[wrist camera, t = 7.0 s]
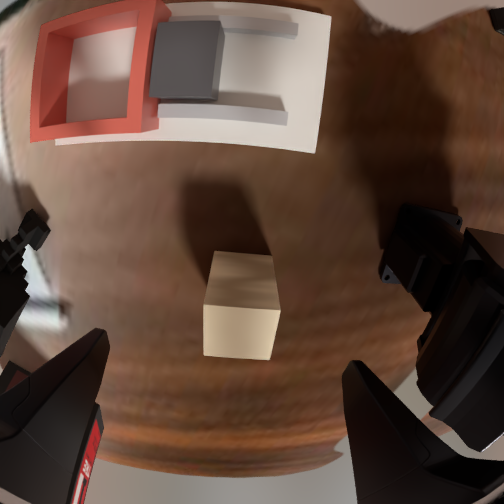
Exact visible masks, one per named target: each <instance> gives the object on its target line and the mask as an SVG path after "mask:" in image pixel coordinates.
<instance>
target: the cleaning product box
mask: <svg viewBox="0 0 504 504" xmlns="http://www.w3.org/2000/svg"><path fill="white" fill-rule="evenodd" d="M30 374H32V373H30V372H28V371H26V370H25V369H23V368H21V367H20V366H18V365H16V364H14V363H13V362H11V361H10V360H9V362H8V364H7V365H6V367H5V368H4V370H3V372H2V373H1V375H0V395H1V394H2V393H4V392H6V391H7V390H9V389H10V388H12V387H14V386H15V385H16V384H18V383H19V382H21V381H22V380H24V379H25V378H26V377H28V376H30ZM103 430H104V426H103V421H102V416H101V410H100V405H98V404H95V403H94V405H93V408H92V411H91V414H90V417H89V420H88V423H87V426H86V429H85V432H84V435H83V438H82V442H81V445H80V448H79V452H78V455H77V459H76V462H75V466H74V469H73V473H72V478H71V482H70V486H69V490H68V494H67V499H66V503H65V504H84V500H85V496H86V492H87V488H88V484H89V479H90V475H91V472H92V468H93V464H94V460H95V457H96V453H97V450H98V446H99V443H100V439H101V436H102V433H103Z"/></svg>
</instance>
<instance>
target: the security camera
mask: <svg viewBox="0 0 504 504" xmlns="http://www.w3.org/2000/svg"><path fill="white" fill-rule="evenodd" d="M18 231H19V232H18V234H17V235H15V236H14V237H13V238H12V239H11V241H10V242H9V241H8V240H7V239H6V240H5V241H4V242H2V241H1V239H0V357H1V356H2V354H3V351H4V349H5V347H6V344H7V342H8V340H9V338H10V335H11V333H12V331H13V329H14V327H15V325H16V323H17V321H18V319H19V317H20V315H21V313H22V311H23V309H24V307H25V305H26V303H27V301H28V299H29V297H30V296H29V295H28V293H27V292H26V291H25V290H26V288H27V286H28V282H27V281H26V280H25V279H24V278H25V276H26V273H27V271H26V269H25V268H24V267H23V266H22V263H23V261H24V259H23V258H22V256H23V254H24V252H25V250H26V249H25V246H27V245H28V244H29V245H30V246H31V247H32V248H33V249H34V250H36V251H37V250H38V249H39V248H41V246H42V245H43V243H44V241H45V240H46V238H47V236H48V235H49V233H50V231H51V230H50V229H49V228H48V227H47V225H46V224H45V223H44V222H43V221H42V220H41V218H40V217H39V216H38V215H37V214H36V212H35V211H34V210H33V209H31V210H30V211H28V212H27V213H26V215H25V217H24V219H23V221H22V223H21V225H20V227H19V229H18Z"/></svg>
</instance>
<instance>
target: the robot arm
mask: <svg viewBox="0 0 504 504" xmlns="http://www.w3.org/2000/svg"><path fill="white" fill-rule="evenodd" d="M408 208H409V211H408V212H407V213H406V210H407V209H408ZM457 220H458V221H457ZM461 225H462V217H460V216H459V215H457V214H453V213H449V212H444V211H440V210H436V209H432V208H427V207H423V206H418V205H413V204H409V203H405V204H403V205H402V207H401V209H400V213H399V217H398V220H397V224H396V227H395V230H394V232H393V234H392V237H391V241H390V244H389V247H388V250H387V253H386V256H385V259H384V261H385V262H384V265H383V268H382V271H381V273H380V279H381V280H382V282H383V283H395V284H402V286H403V287H404V288H405V290H406V291H407V292H408V293H411V295H412V296H413V297H414V299H415V300H416V302H417V303H418V304H419V306H420V307H421V309H422V310H423V311H424V312H429V313H430V314H431V318H430V320H429V322H428V324H427V326H426V328H425V330H424V332H423V334H422V335H420V337H419V338H418V340H417V346H418V353H419V354H418V356H417V361H416V370H417V376H418V380H417V386H418V388H419V390H420V392H421V393H422V395H423V396H424V397H425V398H426V400H427V401H428V402H429V403H430V404H431V405H433V406H434V407H433V408H432V409H431V410H430V411H429V415H430V416H431V417H433V418H436V419H438V420H440V421H443V422H444V423H445V424H447V425H448V426H450V427H451V428H452V429H453V430H454V431H455V432H456V433H457V434H458V435H459V437H460V438H461V439H462V440H463V442H464V443H465V444H466V445H467V446H468V447H469V448H471V449H474V450H476V451H478V452H483V451H484V450H485V449H487V448H488V447H489V446H490V445H492V444H493V443H494V442H495V441H496V440H497V439H499V438H500V437H501V436H502V435H504V235H503V234H498V233H493V232H489V231H483V230H478V229H473V228H468V227H466V229H465V232H464V234H462V233H461V232H460V228H461ZM386 275H388V276H387V277H385V276H386ZM384 277H385V278H384ZM109 351H110V344H109V340H108V336H107V332H106V331H105V330H104V329H100V328H94V329H93V330H92V331H90V332H89V333H87V334H86V335H84V336H83V337H82V338H80V339H79V340H77V341H76V342H75V343H73V344H72V345H70V346H69V347H68V348H66V349H65V350H63V351H62V352H61V353H59V354H58V355H56V356H55V357H54V358H52V359H51V360H49V361H48V362H47V363H45V364H44V365H43V366H41V367H40V368H39V369H37V370H36V371H34V372H33V373H32V374H30V376H28V377H26V378H25V379H24V380H22V381H21V382H19V383H18V384H16V385H15V386H14V387H12V388H10V389H9V390H7V391H6V392H4V393H2V394H1V395H0V504H65V503H66V499H67V494H68V490H69V486H70V482H71V478H72V473H73V469H74V466H75V462H76V459H77V455H78V452H79V448H80V445H81V442H82V438H83V435H84V432H85V429H86V426H87V423H88V420H89V417H90V414H91V411H92V408H93V405H94V402H95V399H96V397H97V394H98V391H99V388H100V385H101V382H102V378H103V374H104V370H105V366H106V362H107V358H108V355H109ZM342 388H343V403H344V414H345V420H346V426H347V432H348V438H349V444H350V450H351V457H352V464H353V471H354V479H355V487H356V495H357V504H504V461H497V460H484V459H475V458H467V457H464V456H462V455H460V454H458V453H457V452H455V451H454V450H453V449H451V447H449V446H448V445H447V444H446V443H444V442H443V441H442V440H441V439H440V438H438V437H437V436H436V435H435V434H434V433H433V432H432V431H430V430H429V429H428V428H427V427H426V426H425V425H424V424H423V423H422V422H421V421H420V420H419V419H418V418H417V417H416V416H415V415H414V414H413V413H412V412H411V411H410V410H409V409H408V408H407V407H406V405H404V404H403V402H402V401H401V400H399V398H398V397H397V396H396V395H395V394H394V393H393V392H392V391H391V390H390V389H389V388H388V387H387V386H386V385H385V384H384V383H383V382H382V381H381V380H380V379H379V378H378V377H377V376H376V375H375V374H374V373H373V372H372V371H371V370H370V369H369V368H368V367H367V366H366V365H365V364H364V363H363V362H362V361H360V360H352V361H350V362H349V364H348V366H347V367H346V369H345V371H344V372H343V375H342Z"/></svg>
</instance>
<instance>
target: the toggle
mask: <svg viewBox="0 0 504 504" xmlns="http://www.w3.org/2000/svg"><path fill="white" fill-rule="evenodd" d="M224 42H225V34H224V30H223V27H222V24H221V21H215V20H198V21H173V22H160V23H158V26H157V32H156V39H155V46H154V53H153V61H152V69H151V79H150V89H149V97H152V98H160V99H199V100H218V93H219V84H220V75H221V66H222V58H223V50H224Z"/></svg>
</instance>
